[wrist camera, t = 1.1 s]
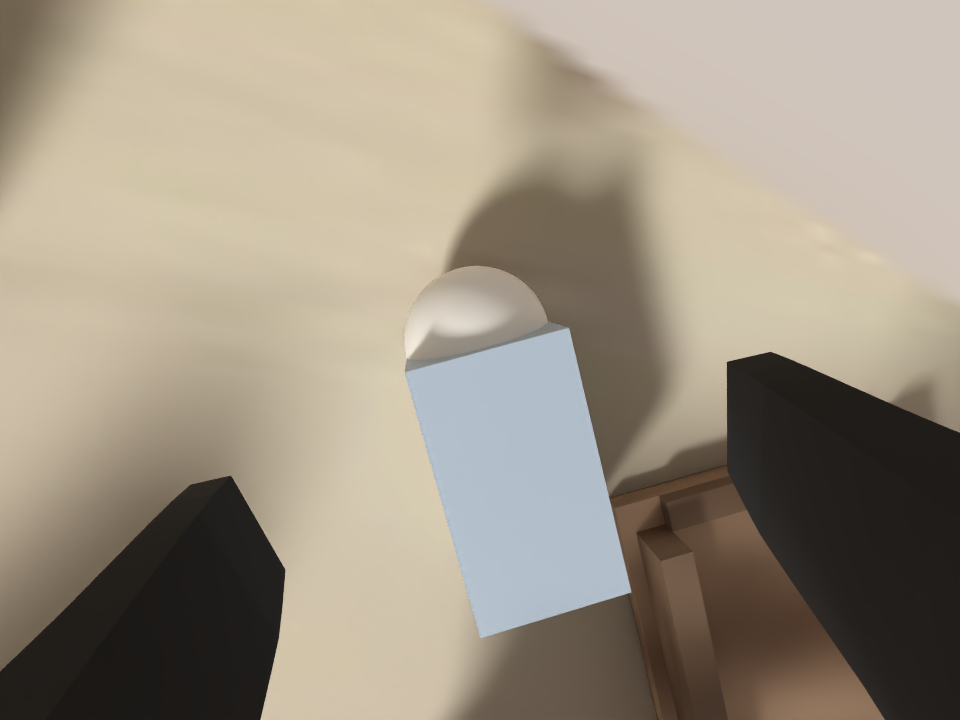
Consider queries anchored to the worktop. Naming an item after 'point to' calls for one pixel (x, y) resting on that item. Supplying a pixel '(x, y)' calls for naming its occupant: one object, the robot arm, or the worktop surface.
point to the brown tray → (725, 612)
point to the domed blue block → (511, 449)
